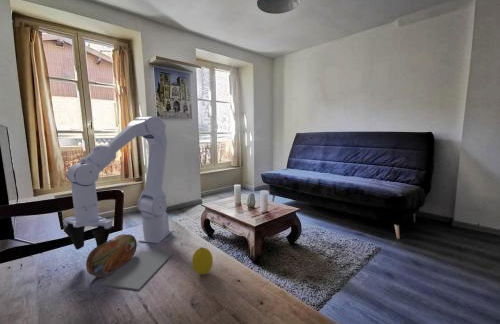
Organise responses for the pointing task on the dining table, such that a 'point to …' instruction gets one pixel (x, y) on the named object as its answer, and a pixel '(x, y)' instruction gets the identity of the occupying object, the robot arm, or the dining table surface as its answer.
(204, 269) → the lemon
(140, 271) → the felt mat
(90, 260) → the tin
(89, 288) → the dining table surface
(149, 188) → the robot arm
